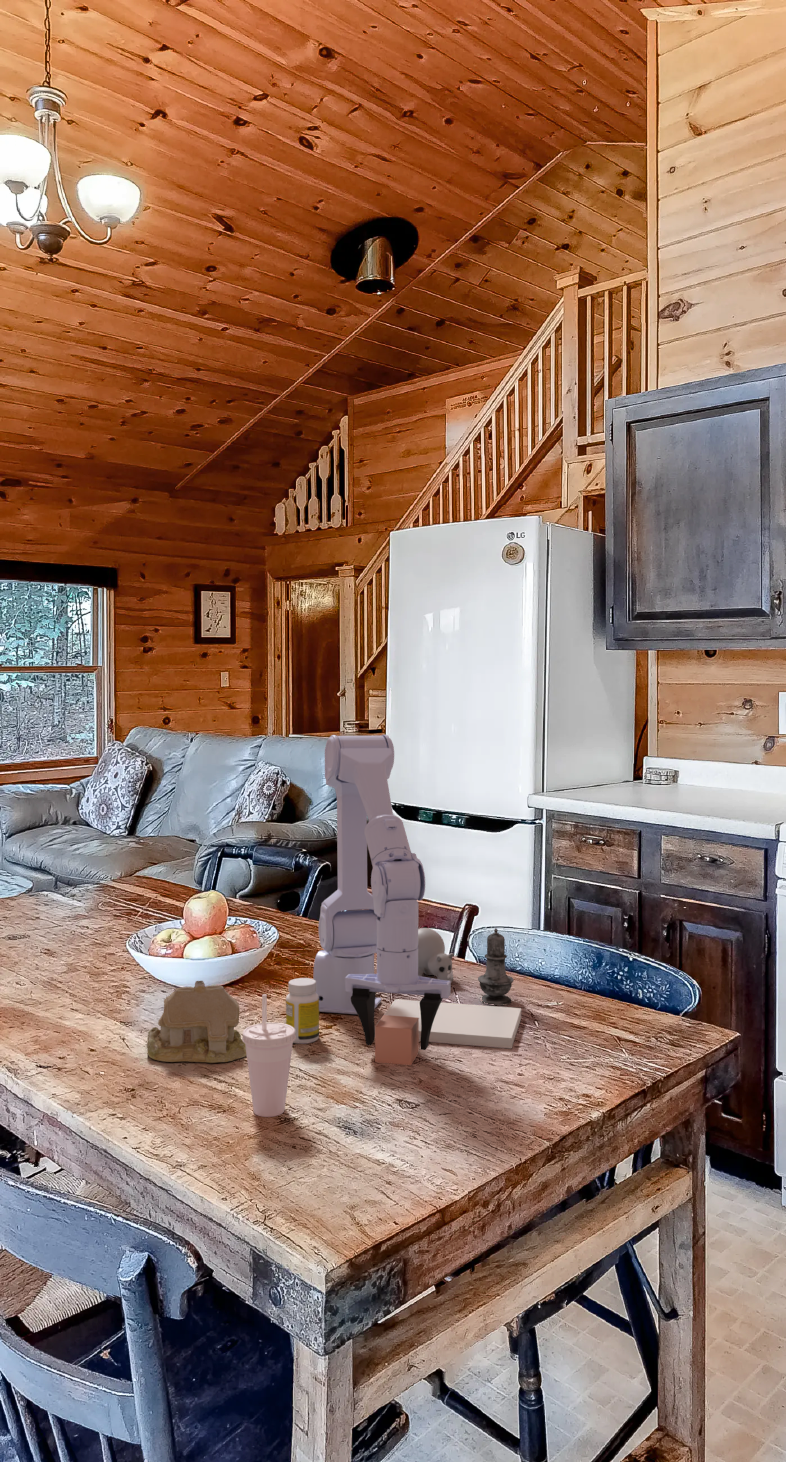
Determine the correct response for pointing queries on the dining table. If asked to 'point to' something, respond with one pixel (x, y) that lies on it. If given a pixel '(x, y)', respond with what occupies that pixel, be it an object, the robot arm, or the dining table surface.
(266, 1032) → the smoothie
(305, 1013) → the supplement bottle
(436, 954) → the round bodied animal figurine
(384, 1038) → the cube
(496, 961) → the salt shaker
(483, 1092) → the dining table surface
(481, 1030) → the tray
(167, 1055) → the ceramic model
